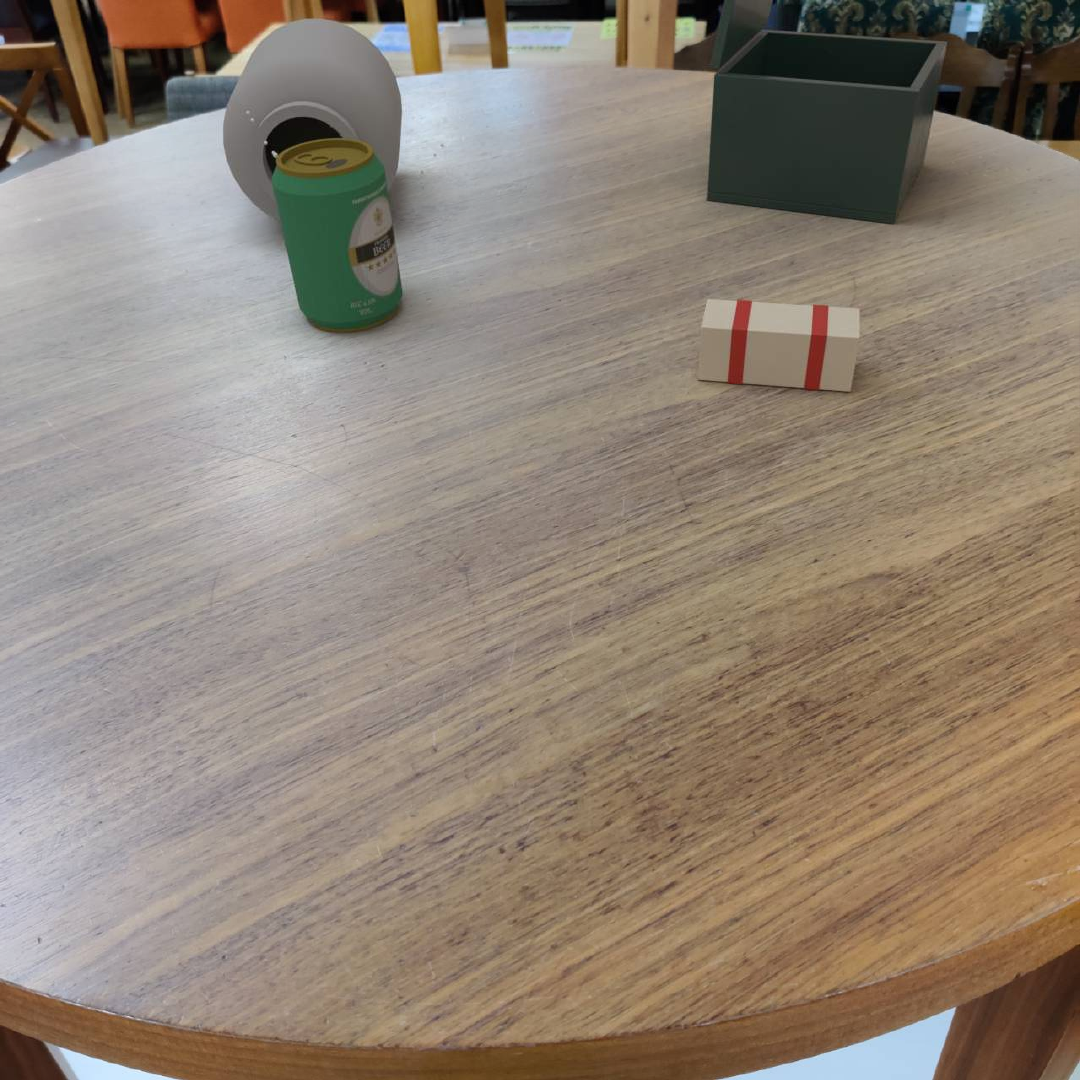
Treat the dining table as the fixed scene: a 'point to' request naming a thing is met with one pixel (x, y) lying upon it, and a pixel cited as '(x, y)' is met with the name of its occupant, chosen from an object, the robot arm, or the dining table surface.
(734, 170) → the bin
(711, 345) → the red striped parcel
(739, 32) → the bin lid
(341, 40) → the jar
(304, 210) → the beverage can
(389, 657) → the dining table surface
